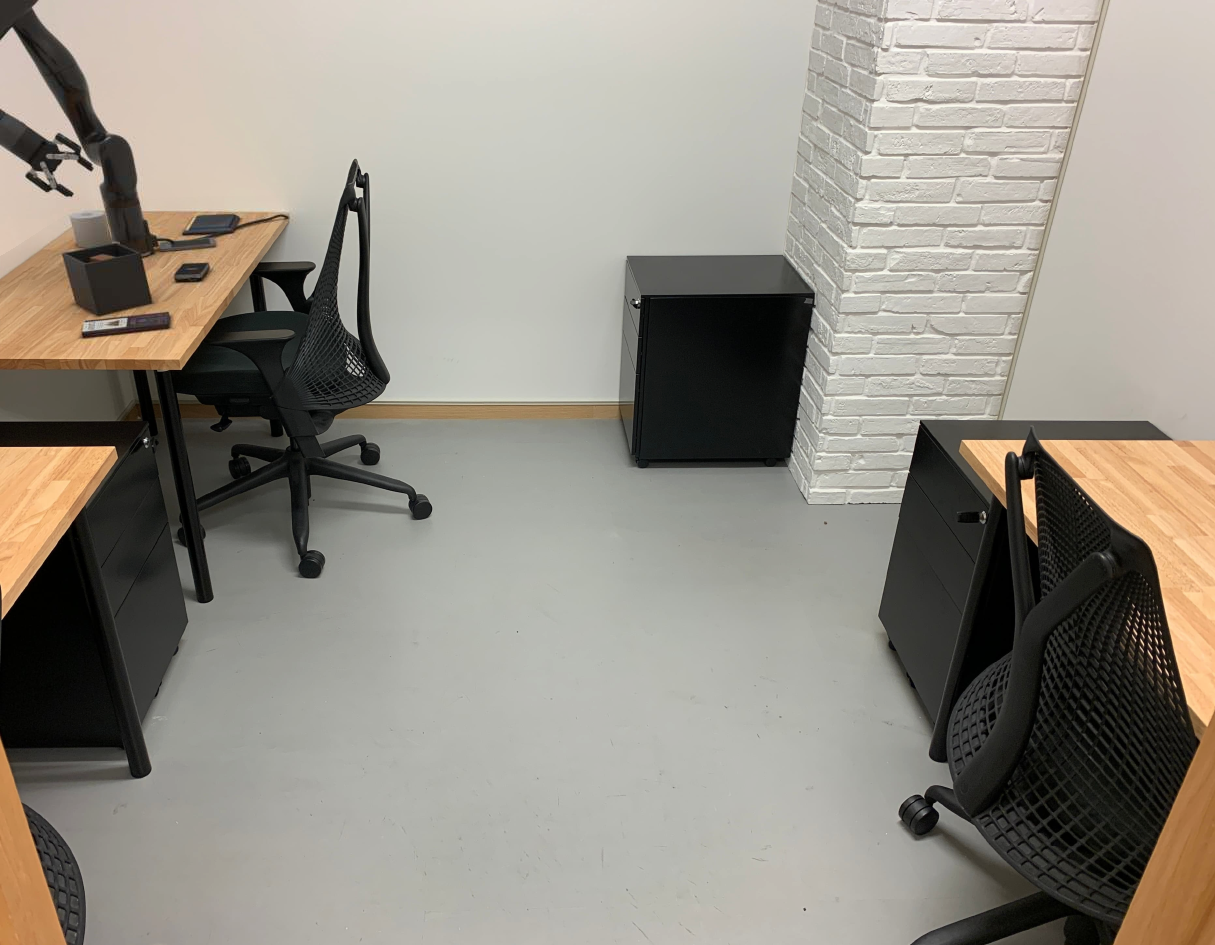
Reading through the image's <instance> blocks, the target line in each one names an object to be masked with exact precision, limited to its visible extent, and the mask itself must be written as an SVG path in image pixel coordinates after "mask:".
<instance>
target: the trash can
mask: <svg viewBox="0 0 1215 945" xmlns="http://www.w3.org/2000/svg"><path fill="white" fill-rule="evenodd" d="M101 254H104V255H109V256H114V257H115V258H110V259H106V260H101V261H96V262H91V261H90V257H94V256H98V255H101ZM61 257H62V260H63V263H64V267H65V271H66V274H67V277H68V282H69V284H70V285H69V286H70V289H71V291H72V292H71V293H72V295H73V298H74V303H75V304H76V305H78V306H79V307H81V308H83V309H85V310H87V311H88V312H90V313H92V314H94V315H95V316H98V317H101V316H104V315H107V314H108V315H109V314H112V313H117V312H121V311H125V310H130V309H134V308H138V307H142V306H146V305H151V304H154V303H153V298H152V294H151V290H150V286H149V282H148V277H147V273H146V270H145V264H144V261H143V257H142V256H141V253H140V252H137V251H135V250H133V249H130V248H128V247H126V246H123V245H121V244H119V243H113V244H112V243H111V244H108V245H102V246H97V247H92V248H83V249H76V250H71V251H67V252H62V253H61Z"/></svg>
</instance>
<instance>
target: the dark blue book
mask: <svg viewBox="0 0 1215 945" xmlns="http://www.w3.org/2000/svg"><path fill="white" fill-rule="evenodd" d="M239 221H240V215H237V214H236V213H222V214H220V213H219V214H218V213H217V214H199V215H196V216H193V217H192V218H191V219H190V221H189V222H188V224H187V225H186V227H185V228H184V230H183V232H182V236H201V235H202V236H203V235H212V234H215V233H219V232H222V231H224V230H226V233H224V234H223V235H225V234H233V233H234V232H235V230H234V229H232V228H233V227H236V226H238V223H239Z"/></svg>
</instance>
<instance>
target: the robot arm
mask: <svg viewBox="0 0 1215 945" xmlns="http://www.w3.org/2000/svg"><path fill="white" fill-rule="evenodd" d="M38 2H39V0H0V42H1V41H2V39H3V38H4V37H5V36H6V35H7V34H8V32H9V31H10V30H12V29H13V31H14V32H15V34H16V36H17V37H18V39H19V40H20V43H21V44H22V46H23V47H24V49H25V51H26V52H27V53H28V55H29V57H30V59H31V60H32V62H33V63H34V65H35V67H36V69H37V71H38V72H39V74H40V76H41V78H42V80H43V81H44V83H45V84H46V86H47V87H48V89H49V91H50V92H51V94H52V95H53V97H54V99H55V100H56V102H57V104H58V105H59V107H60V109H61V110H62V112H63V114H64V115H65V117H66V118H67V119H68V121H69V123H70V125H71V127H72V129H73V131H74V133H75V135H76V137H77V140H78V141H79V144H78V143H77V142H76V141H73V140H72V139H71V138H68V137H67V136H65V135H64V134H62V133H60V132H57V133H56V134H55V136H54V138H53V139H52V141H51V140H48V139H47V138H45V137H44V136H43V135H41V134H40V133H38V132H36V131H35V130H33V129H32V128H31V127H30V126H28V125H27V124H26V123H24V122H23V121H21V120H20V119H18V118H16V117H15V116H13V115H11V114H10V113H8V112H6V111H5V110H4V109H2V108H0V146H1V147H2V148H4V149H5V150H7V151H8V152H10V153H11V154H12V155H14V156H15V157H17V158H19V159H20V160H22V161H23V162H25V163H26V164H28V165H29V166H30V167H31V168H30V170H28V171H27V172H25V173H26V174H25V176H24V177H25V178H26V179H27V180H28V181H30V182H31V183H32V184H34V185H35V186H36V187H38V188H39V189H41V190H42V191H43V192H45V193H50V192H51V191H53V190H55V191H57V192H58V193H60V194H61V195H63V196H64V197H66V198H69V197H70V198H72V197H73V196H74V194H75V193H74V192H73V191H72V190H70V189H69V188H67V187H66V186H64V184H61V183H60V182H59V183H58V181H57V179H56V177H55V172H56V171H57V169H58V167H59V166H60V165H61V164H62V163H63V161H64V160H65V161H69V160H70V161H76V163H77V164H79V165H81V166H82V167H83V168H85V169H86V170H88V171H89V172H93V171H94V169H95V167H94V166H93V165H95V166H98V167H100V168H101V170H102V174H103V181H102V182H101V183H100V184H99V185H98V188H99V192H100V196H101V200H102V204H103V208H104V211H105V212H104V213H105V215H106V219H107V223H108V227H109V231H110V235H111V239H112V243H111V244H113V243H119V244H121V245H123V246H126V247H128V248H130V249H133V250H135V251H137V252H140V253H141V256H142V258H145V257H148V256H150V255H153V254H155V249H154V248H157V247H160V244H159V242H167V241H168V242H171V243H175V242H177V241H178V240H173V239H171V238H167V237H158V236H157V235H156V234H153V233H151V231H150V227H149V222H148V220H147V219H145V218H144V214H143V209H142V205H141V201H140V197H139V192H138V174H137V168H136V162H135V157H134V153H133V150H132V147H131V144H130V143H129V142H128V140H127V139H125V137H123V136H121V135H118V134H115V133H110V132H108V130H107V129H106V127H105V126H104V125H103V123H102V122H101V120H100V118H99V117H98V115H97V113H96V111H95V109H94V106H93V102H92V97H91V91H90V86H89V84H88V81H87V78H86V76H85V74H84V72H83V70H82V68H81V67H80V66H79V64H78V62H77V60H76V58H75V57H74V55H73V53H72V52H70V50H69V49H68V48H67V47H66V46H65V45H64V44H63V43H62V41H60V40H59V39H58V37H56V36H55V35H54V34H53V33H52V32H51V31H50V30H49V29H48V28H47V27H46V25H44V23H42V21H41V19H40V18H39V17H38V15H37V13H36V12H35V10H34V8H33V7H34V6H35V5H36V4H37V3H38ZM58 145H60V146H61V145H64V146H66V147H67V148H69V149H71V150H72V151H67V150H60V149H59V146H58ZM82 150H83V152H84V154H85V155H86V157H87V158H85V157H84V156H82V155H81V153H82ZM37 172H40V173H43V174H44V175H45V178H46V180H47V181H48V183H47V182H46V181H44V180H43V179H41V178H40V177H39V174H38V173H37ZM277 218H285V219H287V220H289V219H290V216H288V215H287V214H284V213H281V214H280V213H279V214H276V215H273V216H271V217H266V218H262V219H255V220H253V221H248V222H245V223H242V224H237V225H236V227H233V228H232V229H234V231H235V230H238V229H240V228H241V229H242V228H243V227H246V226H247V227H248V226H251V225H255V224H258V223H259V224H260V223H264V222H269V221H272V220H274V219H277ZM224 233H226V230H224V231H222V232H219V233H215V234H208V235H204V236H201V237H197V238H192V240H194V239H201V238H215V237H218V236H221V235H225V234H224Z"/></svg>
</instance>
